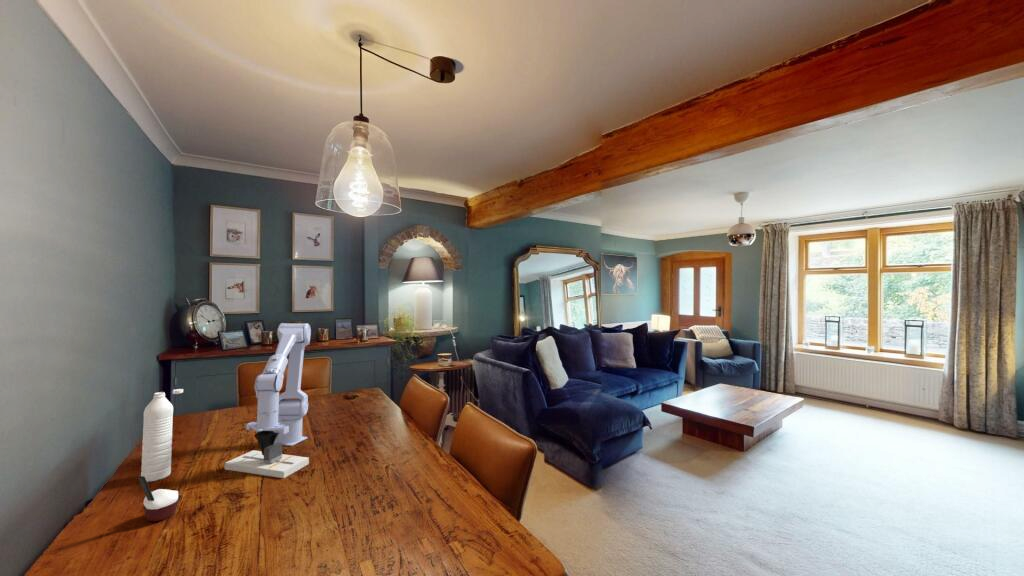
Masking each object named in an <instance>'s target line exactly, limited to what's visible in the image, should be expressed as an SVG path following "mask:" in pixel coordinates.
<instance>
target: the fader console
mask: <svg viewBox="0 0 1024 576" xmlns="http://www.w3.org/2000/svg"><path fill="white" fill-rule="evenodd" d="M309 464H310V457H308V456H307V457H306V456H298V455H293V454H292V455H291V454H285V453H284V454H283V453H282V459H280V460H278V461H276V462H274V463H272V464H271V463H264V455H262V452H261V451H260V450H254V449H252V450H250V451H248V452H246V453H244V454H241V455H239V456H237V457H234V458H232V459H231V460H228V461H226V462H224V470H227V471H232V472H240V473H248V474H254V475H258V476H259V475H260V476H266V477H272V478H278V479H279V478H280V479H285V478H288V477H289V476H290V475H292V474H294V473H296V472H297V471H299V470H300V469H302V468H305V467H306V466H307V465H309Z"/></svg>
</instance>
